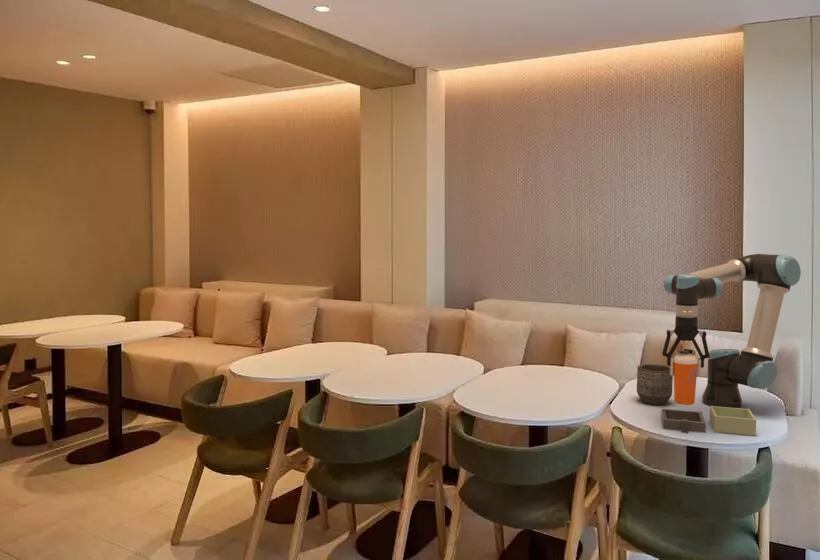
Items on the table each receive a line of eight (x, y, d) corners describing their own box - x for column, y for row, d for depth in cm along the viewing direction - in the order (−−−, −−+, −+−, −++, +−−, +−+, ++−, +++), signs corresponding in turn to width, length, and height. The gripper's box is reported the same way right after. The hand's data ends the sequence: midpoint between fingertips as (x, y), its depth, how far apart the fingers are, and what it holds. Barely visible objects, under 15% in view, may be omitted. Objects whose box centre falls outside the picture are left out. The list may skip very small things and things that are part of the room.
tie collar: (661, 417, 253) (661, 406, 253) (701, 420, 249) (701, 409, 248) (663, 430, 237) (663, 419, 237) (706, 434, 233) (706, 422, 232)
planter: (672, 399, 278) (674, 365, 276) (671, 408, 265) (672, 372, 263) (638, 395, 284) (639, 362, 282) (634, 404, 271) (635, 369, 269)
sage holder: (709, 421, 248) (710, 405, 248) (748, 424, 244) (749, 409, 243) (714, 432, 235) (714, 416, 235) (755, 436, 231) (756, 419, 230)
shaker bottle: (667, 402, 243) (668, 350, 241) (677, 397, 250) (678, 346, 248) (691, 407, 237) (692, 354, 235) (701, 402, 243) (702, 350, 241)
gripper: (656, 316, 240) (654, 375, 242) (719, 318, 233) (717, 379, 235) (655, 313, 247) (653, 371, 249) (717, 315, 240) (715, 374, 242)
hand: (685, 375), depth 242 cm, fingers closed on shaker bottle, 9 cm apart
